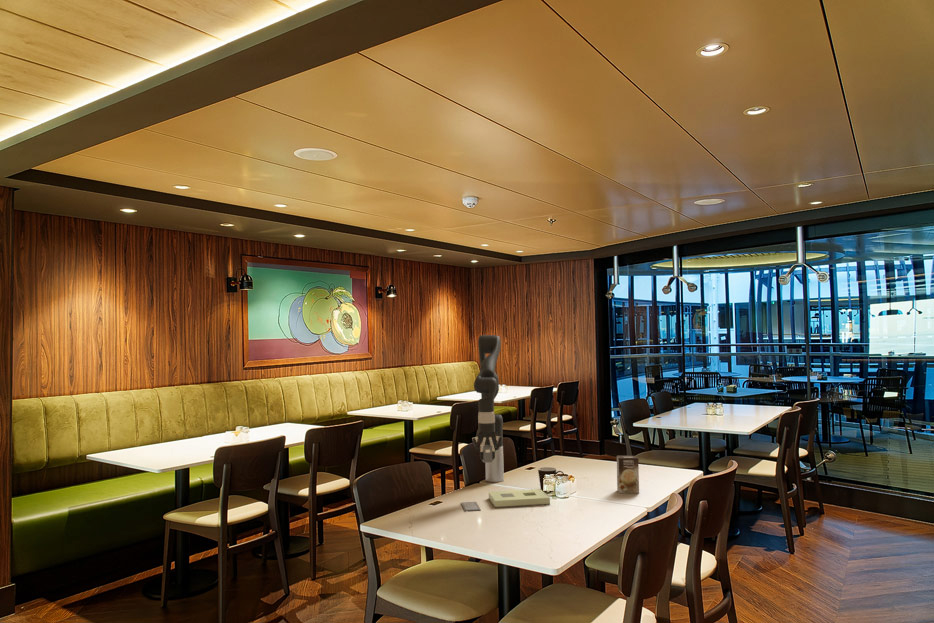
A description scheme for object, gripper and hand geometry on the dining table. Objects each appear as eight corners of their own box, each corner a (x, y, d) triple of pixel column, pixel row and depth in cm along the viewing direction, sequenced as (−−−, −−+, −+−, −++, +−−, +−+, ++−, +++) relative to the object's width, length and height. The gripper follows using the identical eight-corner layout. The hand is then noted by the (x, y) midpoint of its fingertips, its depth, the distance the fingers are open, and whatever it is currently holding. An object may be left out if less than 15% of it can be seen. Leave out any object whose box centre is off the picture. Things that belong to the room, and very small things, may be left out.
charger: (482, 460, 273) (482, 445, 274) (491, 460, 274) (490, 445, 274) (483, 462, 269) (483, 446, 270) (492, 462, 270) (492, 446, 270)
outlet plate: (488, 498, 271) (488, 491, 271) (540, 495, 274) (540, 488, 274) (495, 508, 255) (494, 500, 255) (550, 504, 258) (549, 497, 258)
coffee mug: (536, 492, 281) (536, 470, 281) (540, 487, 289) (540, 466, 289) (561, 493, 277) (560, 471, 277) (564, 489, 285) (564, 467, 286)
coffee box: (619, 493, 275) (618, 458, 276) (617, 490, 281) (615, 455, 282) (639, 493, 274) (638, 457, 275) (637, 490, 280) (636, 455, 281)
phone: (460, 504, 264) (460, 502, 264) (475, 503, 265) (475, 501, 265) (464, 513, 251) (464, 510, 251) (480, 511, 252) (480, 509, 252)
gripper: (500, 420, 277) (501, 457, 276) (470, 421, 276) (470, 459, 275) (503, 422, 270) (504, 460, 269) (471, 423, 268) (472, 462, 267)
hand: (487, 459), depth 272 cm, fingers closed on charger, 4 cm apart
